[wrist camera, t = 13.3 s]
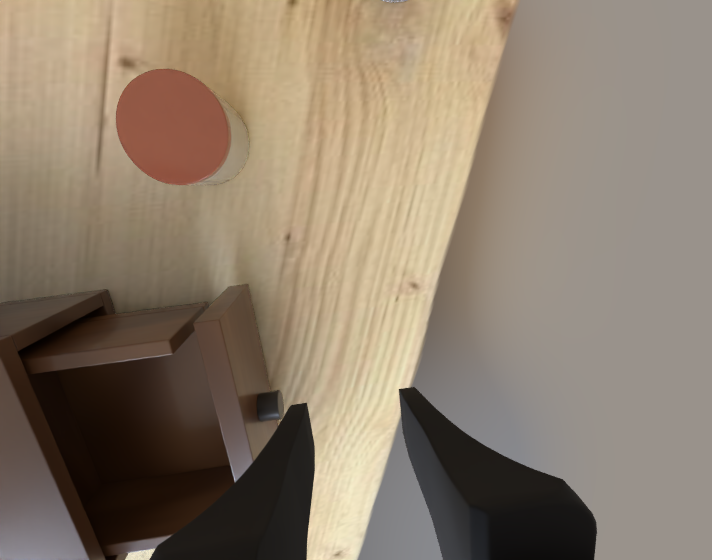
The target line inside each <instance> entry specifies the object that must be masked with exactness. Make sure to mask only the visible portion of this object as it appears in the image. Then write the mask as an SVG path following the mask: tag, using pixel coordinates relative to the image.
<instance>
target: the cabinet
mask: <svg viewBox="0 0 712 560" xmlns="http://www.w3.org/2000/svg"><path fill="white" fill-rule="evenodd" d="M112 314H115V311H114V308H113V305H112V302H111V298H110V295H109V292H108V290H98V291H90V292H82V293H75V294H67V295H59V296H51V297H44V298H36V299H28V300H20V301H13V302H5V303H0V560H125V559H126V557H127V555H128V553H124V554H118V555H112V556H106V557H104V554H103V552H102V550H101V547H100V545H99V543H98V540H97V538H96V536H95V533H94V531H93V529H92V526H91V524H90V521H89V519H88V517H87V514H86V512H85V510H84V507H83V505H82V503H81V500H80V498H79V496H78V493H77V491H76V488H75V486H74V484H73V481H72V479H71V477H70V474H69V472H68V470H67V467H66V465H65V463H64V460H63V458H62V456H61V453H60V451H59V448H58V446H57V444H56V441H55V439H54V437H53V434H52V432H51V430H50V427H49V425H48V423H47V420H46V418H45V415H44V413H43V411H42V408H41V406H40V404H39V401H38V399H37V397H36V394H35V392H34V390H33V387H32V385H31V382H30V380H29V378H28V375H27V373H26V371H25V368H24V366H23V364H22V361H21V359H20V357H19V354H18V352H17V351H19V350H21V349H23V348H25V347H27V346H29V345H31V344H32V343H34V342H36V341H38V340H40V339H42V338H44V337H45V336H47V335H49V334H51V333H53V332H55V331H57V330H58V329H60V328H62V327H64V326H66V325H68V324H70V323H71V322H73V321H75V320H77V319H82V318H89V317H97V316H105V315H112Z"/></svg>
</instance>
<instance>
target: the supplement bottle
mask: <svg viewBox="0 0 712 560" xmlns="http://www.w3.org/2000/svg"><path fill="white" fill-rule="evenodd" d="M382 1H386V2H403V1H406V0H382Z"/></svg>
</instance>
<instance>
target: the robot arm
mask: <svg viewBox="0 0 712 560" xmlns="http://www.w3.org/2000/svg"><path fill="white" fill-rule="evenodd" d="M399 395H400V406H401V417H402V428H403V434H404V439H405V443H406V447H407V451H408V454H409V458H410V461H411V463H412V466H413V469H414V471H415V474H416V477H417V480H418V482H419V485H420V488H421V490H422V493H423V495H424V498H425V501H426V504H427V506H428V509H429V512H430V515H431V518H432V520H433V524H434V528H435V531H436V535H437V539H438V542H439V546H440V550H441V553H442V557H443V560H594V554H595V544H596V534H597V528H596V521H595V519H594V516H593V514H592V512H591V511H590V510H589V509H588V507H587V506H586V505H585V504H584V502H583V501H582V500H581V499H580V498H579V496H578V495H577V494H576V493H575V492H574V491H573V490H572V489H571V488H570V487H569V486H568V485H567V484H566V482H565V481H564V480H563V479H560V478H557V477H554V476H551V475H548V474H546V473H542V472H540V471H537V470H534V469H532V468H529V467H527V466H525V465H522V464H520V463H518V462H515V461H513V460H511V459H509V458H507V457H505V456H503V455H501V454H499V453H497V452H496V451H494V450H492V449H490V448H488V447H486V446H485V445H483V444H481V443H480V442H478V441H477V440H475V439H473V438H472V437H470V436H469V435H467V434H466V433H465V432H463V431H462V430H461V429H459V428H458V427H457V426H456V425H454V424H453V423H451V421H449V420H448V419H447V418H446V417H445V416H444V415H442V414H441V413H440V412H439V411H438V410H437V409H436V408H435V407H434V406H433V405H432V404H431V403H430V402H428V400H427V399H426V398H425V397H424V396H423V395H422V394H421V393H420V392H419V391H418V390H417V389H416V388H415V387H411V388H404V389H399ZM314 471H315V449H314V440H313V435H312V429H311V423H310V418H309V412H308V407H307V403H302V404H295V405H291V406H290V407H289V409H288V411H287V412H286V414H285V416H284V418H283V419H282V421H281V423H280V424H279V426H278V427H277V429H276V431H275V432H274V434H273V435H272V437H271V438H270V440H269V441H268V443H267V444H266V445H265V447H264V448H263V449H262V451H261V452H260V453H259V455H258V456H257V458H256V459H255V460H254V461H253V463H252V464H251V465H250V466H249V468H248V469H247V470H246V471H245V472H244V473H243V474H242V476H241V477H240V478H239V479H238V480H237V481H236V482H235V483H234V484H233V485H232V486H231V487H230V488H229V489H228V490H227V491H226V492H225V493H224V494H223V495H222V496H221V497H219V498H218V499H217V500H216V501H215V502H214V503H213V504H212V505H211V506H209V507H208V508H207V509H206V510H205V511H203V512H202V513H201V514H200V515H199V516H197V517H196V518H195V519H194V520H192V521H191V522H190V523H188V524H187V525H186V526H184V527H183V528H182V529H180V530H179V531H177V532H176V533H174V534H173V535H172V536H170V537H169V538H167V539H166V540H165V541H163V542H162V543H160V544H159V545H158V546H157V547H156V549H155V551H154V553H153V554H152V556H151V558H150V560H306V559H307V536H308V525H309V516H310V508H311V499H312V490H313V481H314Z"/></svg>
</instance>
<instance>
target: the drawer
mask: <svg viewBox="0 0 712 560" xmlns="http://www.w3.org/2000/svg"><path fill="white" fill-rule="evenodd" d="M17 352H18V354H19V357H20V359H21V361H22V364H23V366H24V368H25V371H26V373H27V375H28V378H29V380H30V382H31V385H32V387H33V390H34V392H35V394H36V397H37V399H38V401H39V404H40V406H41V408H42V411H43V413H44V415H45V418H46V420H47V423H48V425H49V427H50V430H51V432H52V434H53V437H54V439H55V441H56V444H57V446H58V448H59V451H60V453H61V456H62V458H63V460H64V463H65V465H66V467H67V470H68V472H69V474H70V477H71V479H72V481H73V484H74V486H75V488H76V491H77V493H78V496H79V498H80V500H81V503H82V505H83V507H84V510H85V512H86V514H87V517H88V519H89V521H90V524H91V526H92V529H93V531H94V533H95V536H96V538H97V540H98V543H99V545H100V547H101V550H102V552H103V554H104V557H106V556H112V555H118V554H124V553H130V552H137V551H143V550H149V549H155V548H156V547H157V546H158V545H159V544H160V543H162V542H163V541H165V540H166V539H167V538H169V537H170V536H172V535H173V534H174V533H176V532H177V531H179V530H180V529H182V528H183V527H184V526H186V525H187V524H188V523H190V522H191V521H192V520H194V519H195V518H196V517H197V516H199V515H200V514H201V513H202V512H203V511H205V510H206V509H207V508H208V507H209V506H211V505H212V504H213V503H214V502H215V501H216V500H217V499H218V498H219V497H221V496H222V495H223V494H224V493H225V492H226V491H227V490H228V489H229V488H230V487H231V486H232V485H233V484H234V483H235V482H236V481H237V480H238V479H239V478H240V477H241V476H242V474H243V473H244V472H245V471H246V470H247V469H248V468H249V466H250V465H251V464H252V463H253V461H254V460H255V459H256V458H257V456H258V455H259V453H260V452H261V451H262V449H263V448H264V447H265V445H266V444H267V443H268V441H269V440H270V438H271V437H272V435H273V434H274V432H275V431H276V429H277V427H278V424H277V420H279V419H282V418H283V412H284V405H283V397H282V393H281V391H280V390H277V391H270V386H269V381H268V376H267V372H266V367H265V362H264V357H263V353H262V348H261V343H260V338H259V334H258V329H257V324H256V319H255V314H254V310H253V305H252V300H251V295H250V291H249V286H248V284H244V285H236V286H229V287H228V288H227V289H226V290H225V291H224V292H223V293H222V294H221V295H220V296H219V297H218V298H217V299H216V300H215V301H214V302H213V303H212V304H211V305H210V306H208V302H203V303H195V304H188V305H180V306H173V307H165V308H157V309H150V310H142V311H135V312H127V313H120V314H112V315H105V316H97V317H89V318H82V319H77V320H75V321H73V322H71V323H70V324H68V325H66V326H64V327H62V328H60V329H58V330H57V331H55V332H53V333H51V334H49V335H47V336H45V337H44V338H42V339H40V340H38V341H36V342H34V343H32V344H31V345H29V346H27V347H25V348H23V349H21V350H19V351H17Z"/></svg>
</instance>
